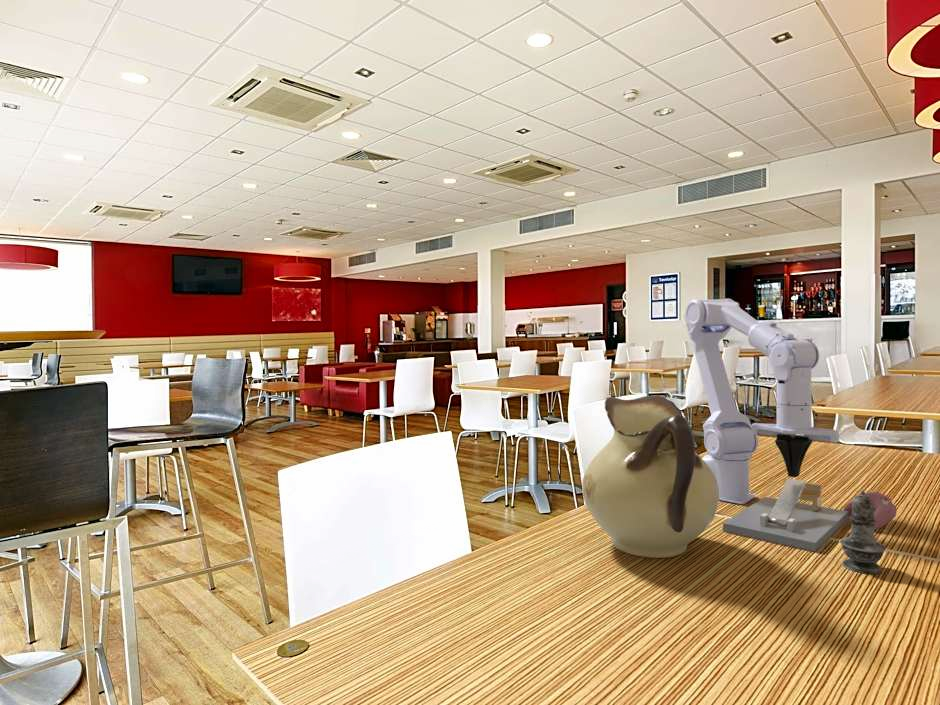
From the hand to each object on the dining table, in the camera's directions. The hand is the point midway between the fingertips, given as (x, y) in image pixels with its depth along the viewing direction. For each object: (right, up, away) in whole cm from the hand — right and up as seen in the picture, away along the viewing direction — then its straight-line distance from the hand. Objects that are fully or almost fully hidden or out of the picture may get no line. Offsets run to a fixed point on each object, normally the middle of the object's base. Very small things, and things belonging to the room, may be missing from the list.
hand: (793, 475), depth 111 cm
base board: (-1, -9, -1) cm, 9 cm away
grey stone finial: (0, -10, -20) cm, 23 cm away
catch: (+5, -7, +5) cm, 10 cm away
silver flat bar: (-2, -5, -2) cm, 6 cm away
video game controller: (+14, -9, -1) cm, 17 cm away
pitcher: (-30, -10, -10) cm, 33 cm away
